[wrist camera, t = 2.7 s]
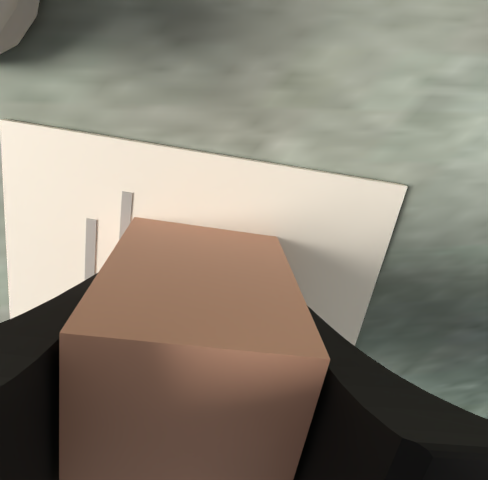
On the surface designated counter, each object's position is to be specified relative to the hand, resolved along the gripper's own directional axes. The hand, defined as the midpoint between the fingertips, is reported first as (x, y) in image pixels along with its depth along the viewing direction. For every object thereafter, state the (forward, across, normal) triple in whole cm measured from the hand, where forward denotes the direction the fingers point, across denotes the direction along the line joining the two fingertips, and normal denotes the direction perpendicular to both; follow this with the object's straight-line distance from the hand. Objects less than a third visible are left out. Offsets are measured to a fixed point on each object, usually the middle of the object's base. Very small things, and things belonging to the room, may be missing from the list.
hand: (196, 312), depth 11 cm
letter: (+2, 0, 0) cm, 2 cm away
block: (+1, 0, 0) cm, 1 cm away
